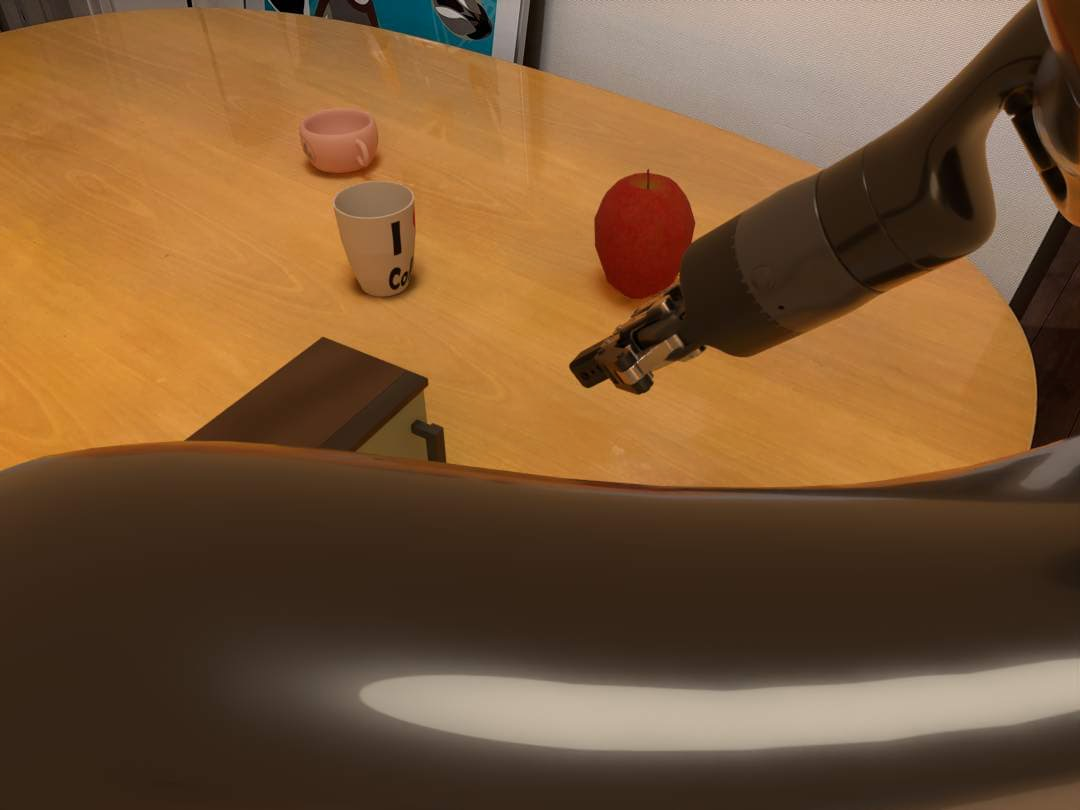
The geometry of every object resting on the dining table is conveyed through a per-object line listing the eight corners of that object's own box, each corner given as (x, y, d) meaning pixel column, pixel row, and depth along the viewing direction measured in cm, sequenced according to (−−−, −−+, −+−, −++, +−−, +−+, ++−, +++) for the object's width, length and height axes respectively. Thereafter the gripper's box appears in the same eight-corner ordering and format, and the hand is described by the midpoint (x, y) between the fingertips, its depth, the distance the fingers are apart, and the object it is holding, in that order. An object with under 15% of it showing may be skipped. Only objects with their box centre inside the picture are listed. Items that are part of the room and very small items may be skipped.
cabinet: (440, 499, 71) (428, 377, 63) (303, 646, 60) (267, 522, 52) (345, 456, 75) (322, 336, 67) (201, 587, 64) (153, 463, 56)
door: (458, 499, 69) (450, 397, 63) (395, 568, 64) (379, 465, 58) (426, 484, 71) (415, 383, 64) (362, 551, 65) (342, 448, 59)
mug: (291, 161, 118) (283, 118, 114) (356, 142, 123) (351, 100, 119) (336, 194, 111) (329, 149, 107) (403, 172, 116) (399, 128, 112)
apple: (677, 324, 90) (693, 199, 81) (581, 308, 92) (586, 185, 83) (692, 272, 97) (708, 152, 88) (603, 258, 99) (610, 140, 90)
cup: (402, 310, 91) (392, 223, 85) (332, 296, 93) (317, 210, 87) (434, 271, 97) (427, 187, 91) (368, 258, 99) (356, 175, 93)
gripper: (783, 385, 45) (566, 471, 57) (856, 266, 53) (653, 364, 66) (698, 265, 43) (495, 380, 56) (787, 164, 52) (593, 283, 65)
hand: (581, 371), depth 61 cm, fingers closed
